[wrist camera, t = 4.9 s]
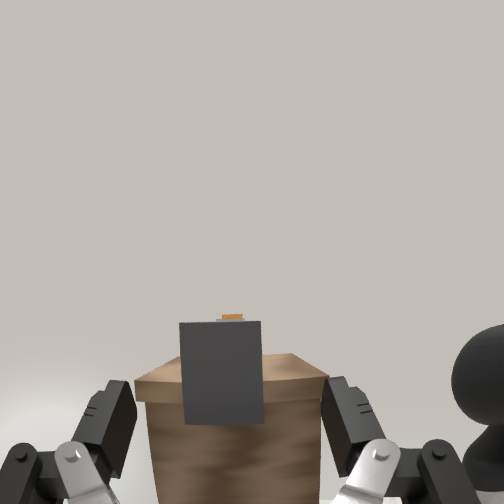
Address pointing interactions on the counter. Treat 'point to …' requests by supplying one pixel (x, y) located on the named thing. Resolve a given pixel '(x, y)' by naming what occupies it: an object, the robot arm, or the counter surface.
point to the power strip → (222, 372)
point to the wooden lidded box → (238, 440)
